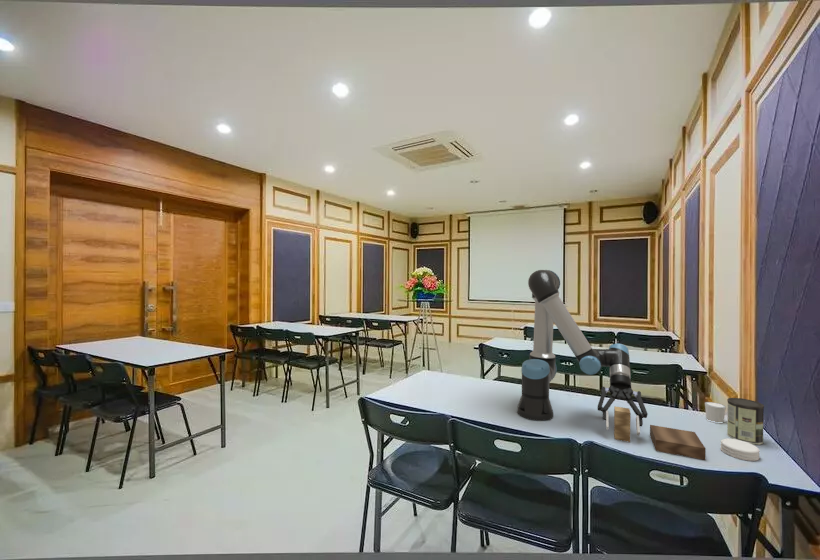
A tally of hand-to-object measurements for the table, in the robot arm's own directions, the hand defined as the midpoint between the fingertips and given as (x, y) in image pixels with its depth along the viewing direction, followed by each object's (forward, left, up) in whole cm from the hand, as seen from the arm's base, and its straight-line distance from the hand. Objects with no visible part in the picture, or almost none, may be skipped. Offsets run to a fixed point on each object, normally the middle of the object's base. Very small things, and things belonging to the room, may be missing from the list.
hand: (622, 431), depth 134 cm
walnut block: (+17, +4, -4) cm, 18 cm away
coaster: (+36, +8, -4) cm, 37 cm away
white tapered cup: (+37, +40, -4) cm, 55 cm away
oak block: (0, +3, -4) cm, 5 cm away
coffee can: (+42, +24, -4) cm, 49 cm away
